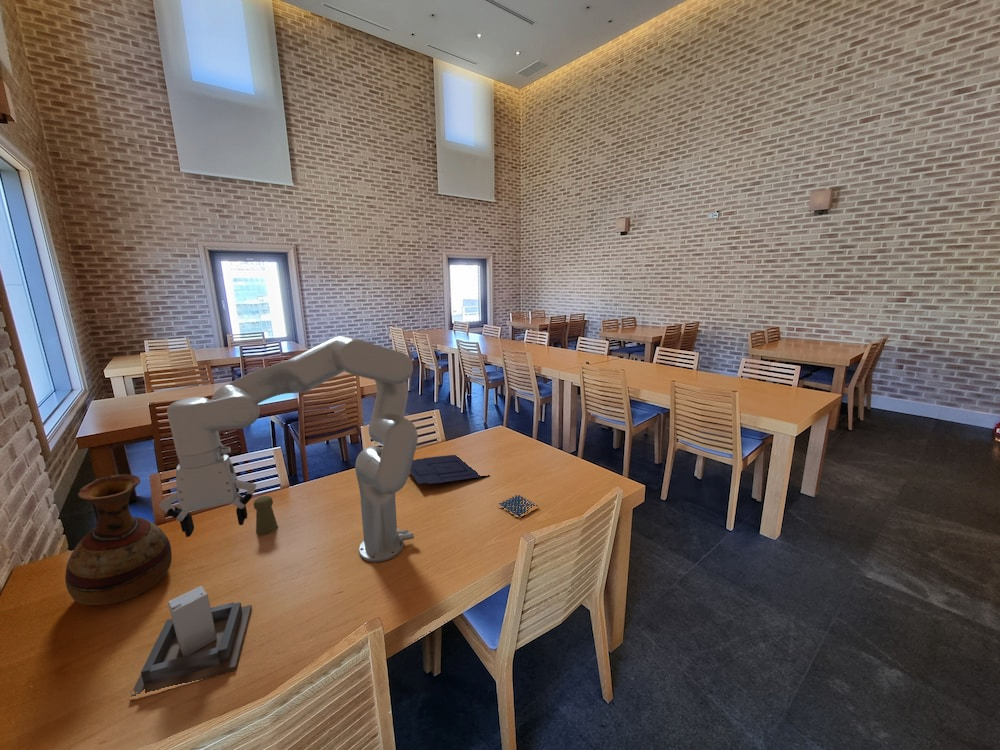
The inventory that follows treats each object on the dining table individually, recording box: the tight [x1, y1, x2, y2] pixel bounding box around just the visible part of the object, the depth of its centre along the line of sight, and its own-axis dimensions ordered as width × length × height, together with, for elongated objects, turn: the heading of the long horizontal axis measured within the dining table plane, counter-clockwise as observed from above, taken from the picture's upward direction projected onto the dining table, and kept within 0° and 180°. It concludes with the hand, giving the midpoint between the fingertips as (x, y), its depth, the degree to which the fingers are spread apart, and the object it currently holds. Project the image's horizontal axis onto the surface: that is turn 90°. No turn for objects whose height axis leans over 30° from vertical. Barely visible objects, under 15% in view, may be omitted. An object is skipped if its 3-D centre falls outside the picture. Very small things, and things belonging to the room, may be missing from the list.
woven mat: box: [498, 494, 538, 517], centre depth 140 cm, size 10×11×2 cm
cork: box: [253, 495, 279, 536], centre depth 126 cm, size 6×6×11 cm
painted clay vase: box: [64, 473, 173, 606], centre depth 100 cm, size 20×20×30 cm
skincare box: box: [167, 585, 217, 657], centre depth 84 cm, size 6×4×12 cm
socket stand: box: [130, 601, 253, 697], centre depth 85 cm, size 17×17×4 cm
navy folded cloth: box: [409, 454, 482, 485], centre depth 165 cm, size 24×30×4 cm
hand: (217, 527), depth 88 cm, fingers open, 9 cm apart
